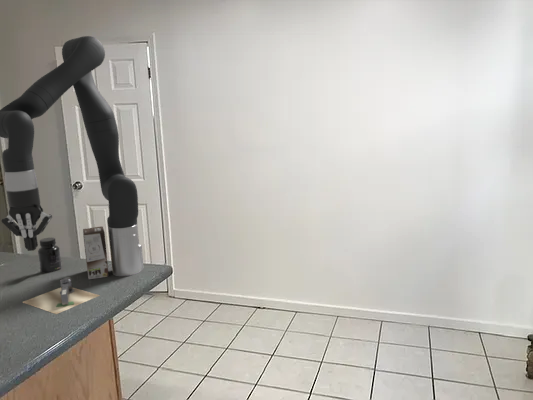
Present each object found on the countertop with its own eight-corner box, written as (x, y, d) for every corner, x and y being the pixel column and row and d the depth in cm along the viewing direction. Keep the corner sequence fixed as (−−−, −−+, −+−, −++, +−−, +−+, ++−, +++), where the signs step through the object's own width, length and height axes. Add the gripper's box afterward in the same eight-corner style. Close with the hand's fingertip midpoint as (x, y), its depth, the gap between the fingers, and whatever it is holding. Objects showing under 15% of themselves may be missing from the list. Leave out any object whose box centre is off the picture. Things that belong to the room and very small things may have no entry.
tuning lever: (61, 289, 141) (60, 278, 140) (72, 287, 142) (71, 276, 141) (59, 305, 129) (57, 293, 129) (71, 303, 130) (69, 291, 130)
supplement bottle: (36, 275, 159) (31, 240, 157) (53, 268, 165) (49, 235, 163) (49, 278, 156) (45, 243, 154) (67, 271, 162) (62, 237, 160)
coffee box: (109, 280, 152) (104, 232, 149) (88, 283, 150) (83, 234, 147) (107, 271, 161) (103, 225, 157) (87, 274, 158) (82, 228, 155)
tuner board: (66, 290, 146) (65, 284, 145) (100, 300, 137) (99, 294, 137) (22, 307, 134) (21, 301, 134) (57, 319, 126) (56, 313, 125)
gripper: (53, 183, 129) (61, 244, 133) (3, 186, 129) (13, 247, 132) (41, 188, 122) (51, 252, 125) (-11, 191, 121) (0, 255, 125)
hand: (31, 249), depth 129 cm, fingers closed
